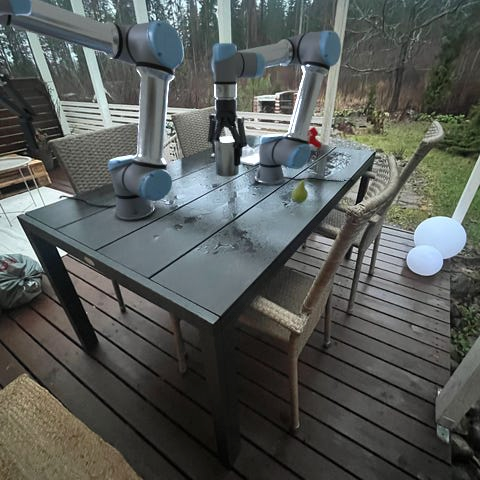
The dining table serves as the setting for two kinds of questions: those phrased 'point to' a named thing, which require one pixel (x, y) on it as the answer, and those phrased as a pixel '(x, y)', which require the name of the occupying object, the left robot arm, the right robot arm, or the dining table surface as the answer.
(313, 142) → the toy gun
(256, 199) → the dining table surface
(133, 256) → the dining table surface
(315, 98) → the right robot arm
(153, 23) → the left robot arm
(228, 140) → the tin
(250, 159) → the relief map
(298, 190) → the fruit
